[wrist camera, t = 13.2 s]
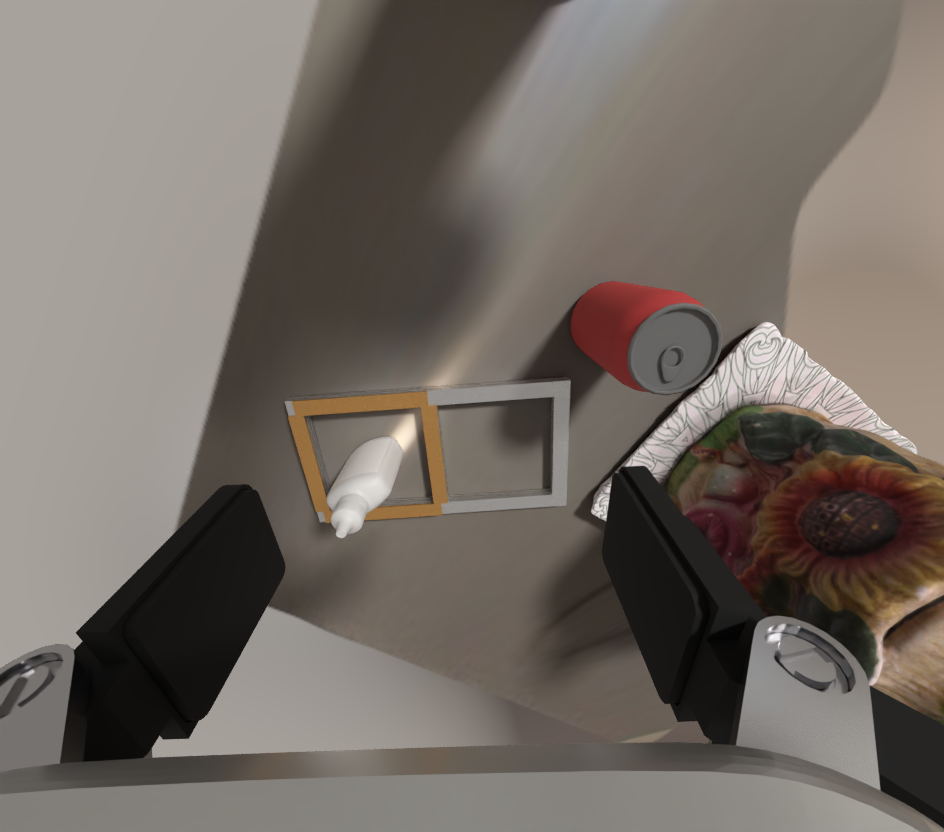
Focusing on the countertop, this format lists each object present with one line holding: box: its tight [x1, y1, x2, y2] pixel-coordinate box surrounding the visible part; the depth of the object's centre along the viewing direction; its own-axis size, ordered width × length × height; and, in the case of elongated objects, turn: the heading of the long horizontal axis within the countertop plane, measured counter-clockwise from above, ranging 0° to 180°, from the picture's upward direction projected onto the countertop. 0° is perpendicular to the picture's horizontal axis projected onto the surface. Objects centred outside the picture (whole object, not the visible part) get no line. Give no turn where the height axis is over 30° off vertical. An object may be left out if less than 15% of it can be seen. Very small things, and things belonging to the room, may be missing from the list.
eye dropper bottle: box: [326, 437, 404, 538], centre depth 32 cm, size 4×6×12 cm
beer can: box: [570, 281, 723, 395], centre depth 27 cm, size 7×7×12 cm
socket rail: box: [285, 377, 571, 523], centre depth 37 cm, size 14×26×1 cm, turn 94°
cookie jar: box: [591, 322, 944, 725], centre depth 25 cm, size 25×25×32 cm
